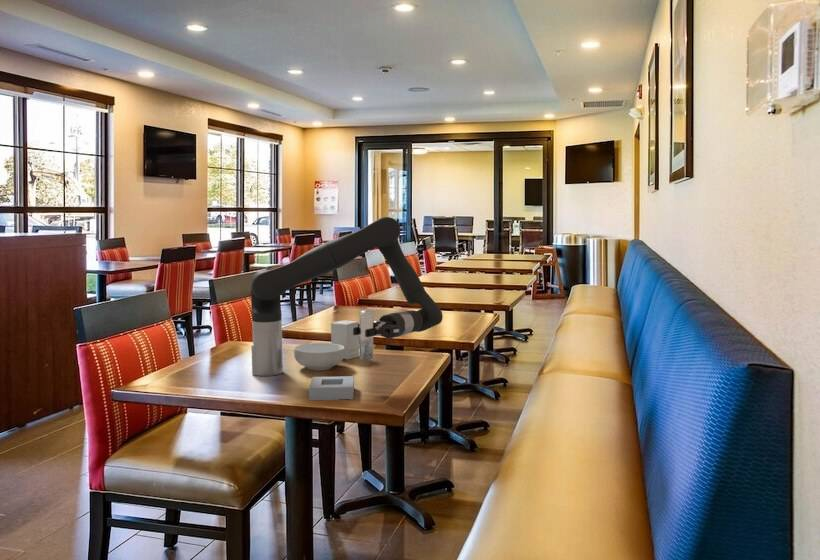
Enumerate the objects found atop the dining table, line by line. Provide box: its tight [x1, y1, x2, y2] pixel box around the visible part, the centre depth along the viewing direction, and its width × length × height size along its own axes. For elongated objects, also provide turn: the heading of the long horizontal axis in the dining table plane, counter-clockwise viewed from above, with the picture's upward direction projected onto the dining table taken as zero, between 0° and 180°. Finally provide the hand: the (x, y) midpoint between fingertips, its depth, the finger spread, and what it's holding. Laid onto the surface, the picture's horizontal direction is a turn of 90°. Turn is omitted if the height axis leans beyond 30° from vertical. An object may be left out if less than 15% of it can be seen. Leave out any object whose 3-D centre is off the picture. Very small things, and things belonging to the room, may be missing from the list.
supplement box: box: [330, 319, 360, 360], centre depth 232 cm, size 7×7×13 cm
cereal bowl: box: [293, 342, 345, 371], centre depth 216 cm, size 17×17×7 cm
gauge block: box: [308, 375, 355, 401], centre depth 185 cm, size 12×12×4 cm
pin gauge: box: [359, 309, 374, 361], centre depth 190 cm, size 4×4×14 cm
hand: (360, 332), depth 188 cm, fingers closed on pin gauge, 4 cm apart
